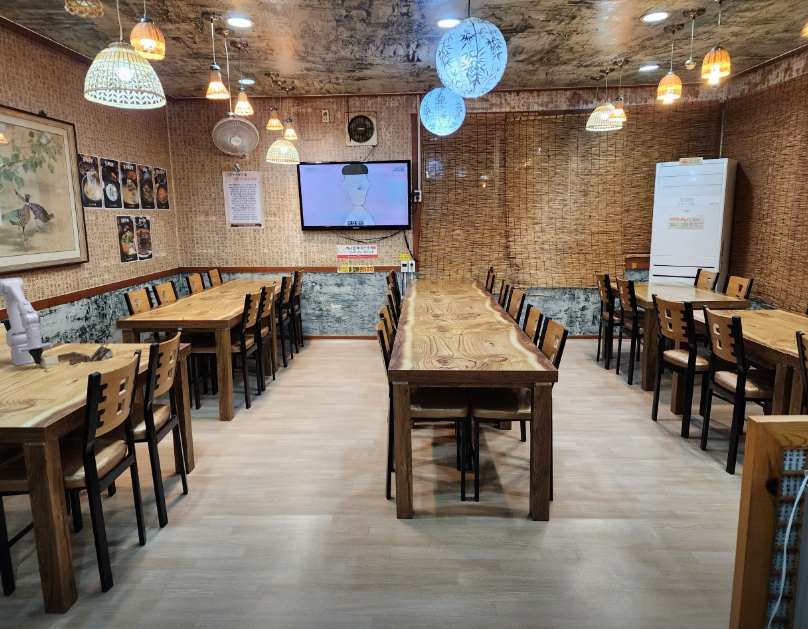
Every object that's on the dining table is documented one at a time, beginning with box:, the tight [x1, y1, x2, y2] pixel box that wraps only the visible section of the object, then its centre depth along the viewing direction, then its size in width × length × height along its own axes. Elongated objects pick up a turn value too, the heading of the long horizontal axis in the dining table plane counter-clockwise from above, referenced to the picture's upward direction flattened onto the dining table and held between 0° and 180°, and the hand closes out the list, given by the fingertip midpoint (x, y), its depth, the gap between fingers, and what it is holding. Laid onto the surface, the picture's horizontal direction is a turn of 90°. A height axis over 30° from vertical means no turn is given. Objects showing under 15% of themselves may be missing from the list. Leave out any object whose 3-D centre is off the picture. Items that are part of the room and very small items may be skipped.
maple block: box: [36, 353, 60, 370], centre depth 260 cm, size 8×6×5 cm
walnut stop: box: [57, 351, 91, 366], centre depth 270 cm, size 18×8×3 cm, turn 54°
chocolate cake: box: [89, 343, 114, 362], centre depth 274 cm, size 10×7×12 cm
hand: (37, 363), depth 257 cm, fingers closed
